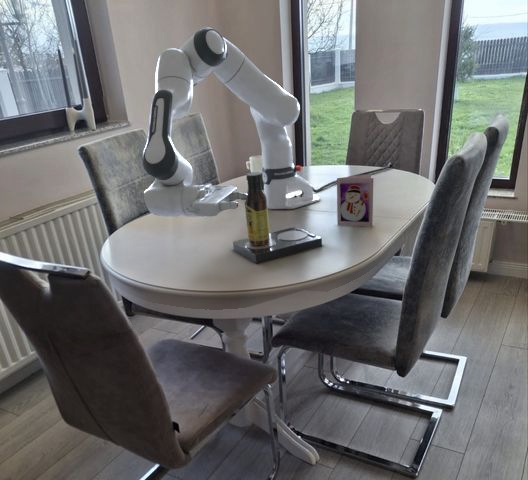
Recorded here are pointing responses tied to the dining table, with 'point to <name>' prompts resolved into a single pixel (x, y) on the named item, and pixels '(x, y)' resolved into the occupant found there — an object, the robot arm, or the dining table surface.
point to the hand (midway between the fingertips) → (242, 200)
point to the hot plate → (279, 245)
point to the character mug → (256, 166)
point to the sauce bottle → (256, 211)
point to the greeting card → (355, 200)
